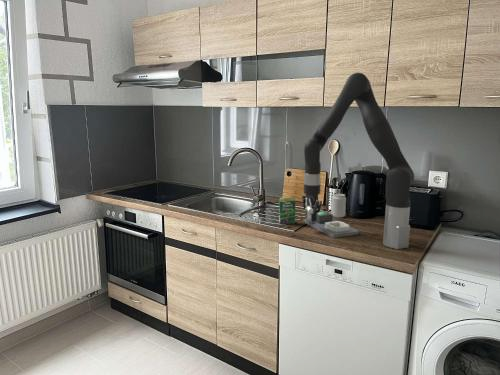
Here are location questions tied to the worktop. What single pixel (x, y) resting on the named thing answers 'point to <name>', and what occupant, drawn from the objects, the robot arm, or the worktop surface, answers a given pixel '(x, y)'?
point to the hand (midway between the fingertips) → (311, 219)
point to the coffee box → (287, 210)
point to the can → (338, 205)
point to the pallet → (332, 226)
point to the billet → (309, 216)
